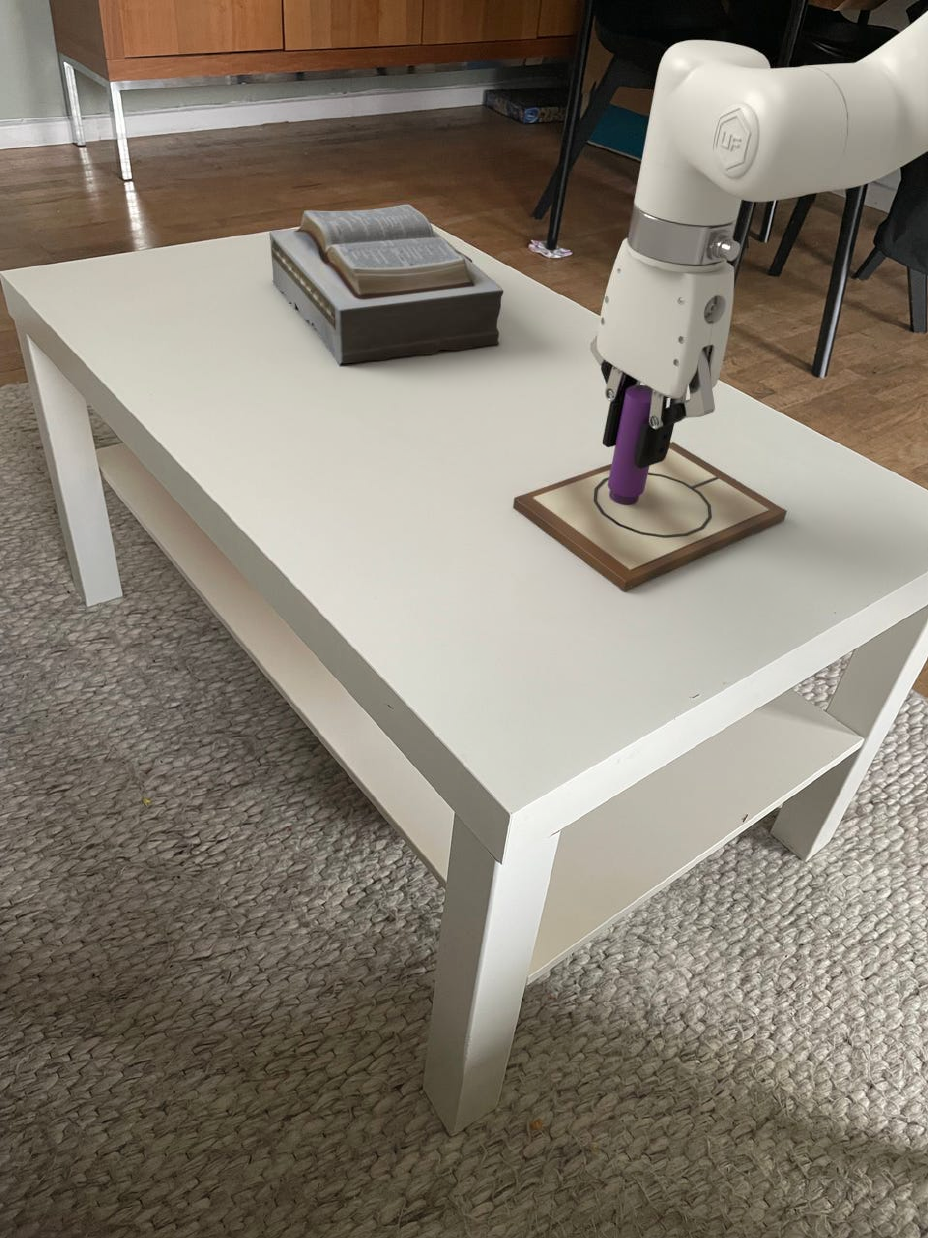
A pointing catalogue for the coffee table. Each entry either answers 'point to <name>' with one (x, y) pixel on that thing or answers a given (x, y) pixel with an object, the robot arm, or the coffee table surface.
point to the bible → (383, 284)
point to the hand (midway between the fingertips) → (633, 450)
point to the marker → (630, 447)
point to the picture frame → (649, 517)
